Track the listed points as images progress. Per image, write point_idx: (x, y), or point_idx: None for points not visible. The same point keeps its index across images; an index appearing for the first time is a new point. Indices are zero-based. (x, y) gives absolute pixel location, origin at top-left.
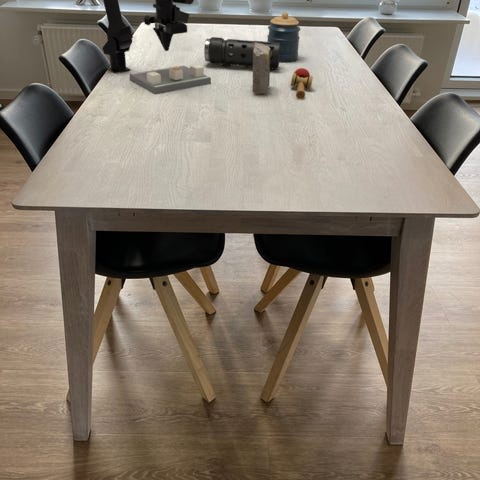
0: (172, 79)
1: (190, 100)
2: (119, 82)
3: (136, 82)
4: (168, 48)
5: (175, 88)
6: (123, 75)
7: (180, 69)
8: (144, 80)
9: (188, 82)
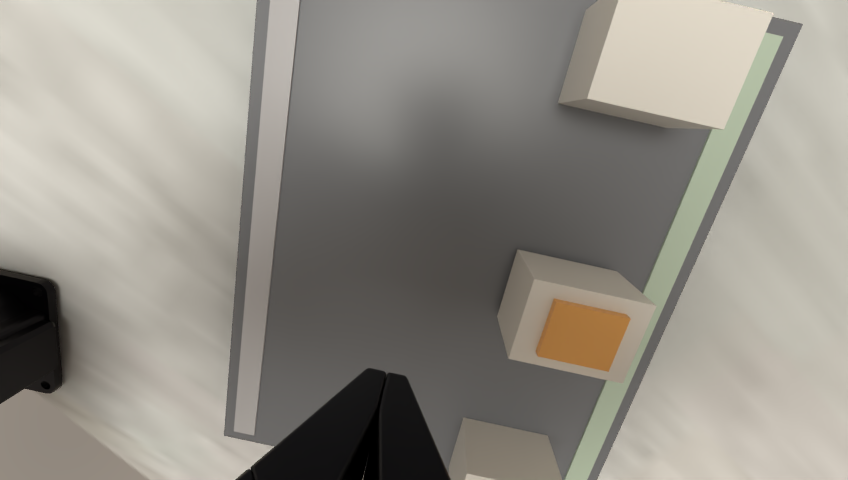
0: None
1: (829, 424)
2: None
3: None
4: (412, 403)
5: None
6: (136, 375)
7: (626, 310)
8: None
9: (686, 275)
